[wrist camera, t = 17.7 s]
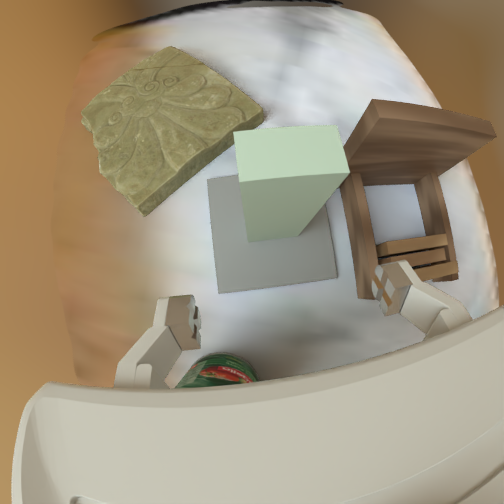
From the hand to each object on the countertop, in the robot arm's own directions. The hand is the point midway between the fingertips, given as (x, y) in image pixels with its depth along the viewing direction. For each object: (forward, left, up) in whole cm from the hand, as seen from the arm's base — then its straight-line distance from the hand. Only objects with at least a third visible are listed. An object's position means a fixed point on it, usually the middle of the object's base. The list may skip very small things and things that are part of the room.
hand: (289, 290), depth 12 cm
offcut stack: (+1, -15, -16) cm, 22 cm away
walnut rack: (+4, -15, -16) cm, 22 cm away
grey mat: (+6, -1, -16) cm, 17 cm away
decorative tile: (+22, +11, -17) cm, 30 cm away
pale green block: (+6, -1, -15) cm, 16 cm away
